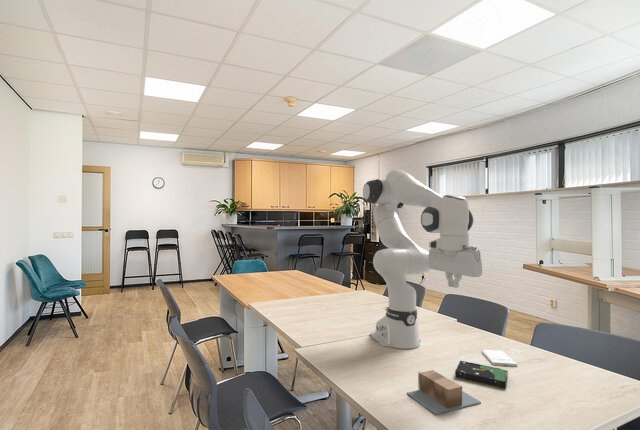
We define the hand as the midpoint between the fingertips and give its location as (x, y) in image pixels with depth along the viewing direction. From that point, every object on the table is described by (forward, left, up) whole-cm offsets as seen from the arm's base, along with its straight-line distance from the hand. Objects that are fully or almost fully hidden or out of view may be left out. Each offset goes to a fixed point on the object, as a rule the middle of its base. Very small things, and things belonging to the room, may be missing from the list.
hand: (453, 286), depth 116 cm
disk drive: (+4, +9, -30) cm, 31 cm away
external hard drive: (-5, +28, -30) cm, 41 cm away
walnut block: (+3, -14, -26) cm, 30 cm away
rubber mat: (+10, -13, -29) cm, 33 cm away
